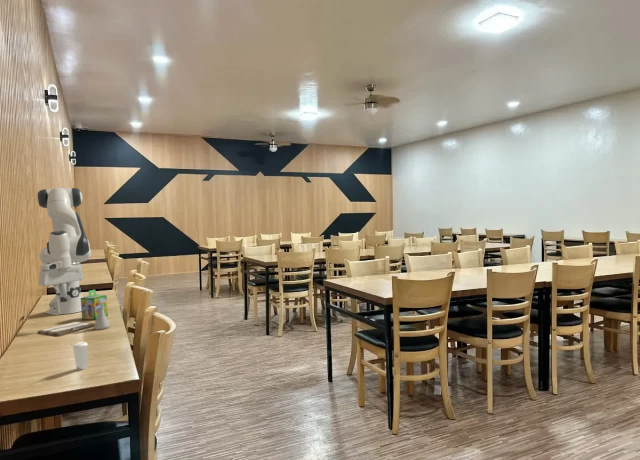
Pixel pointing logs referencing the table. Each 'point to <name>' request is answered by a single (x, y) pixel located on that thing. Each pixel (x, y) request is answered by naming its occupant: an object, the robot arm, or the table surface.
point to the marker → (63, 292)
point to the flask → (101, 320)
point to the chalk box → (93, 305)
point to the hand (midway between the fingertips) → (63, 292)
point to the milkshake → (80, 355)
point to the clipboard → (67, 328)
